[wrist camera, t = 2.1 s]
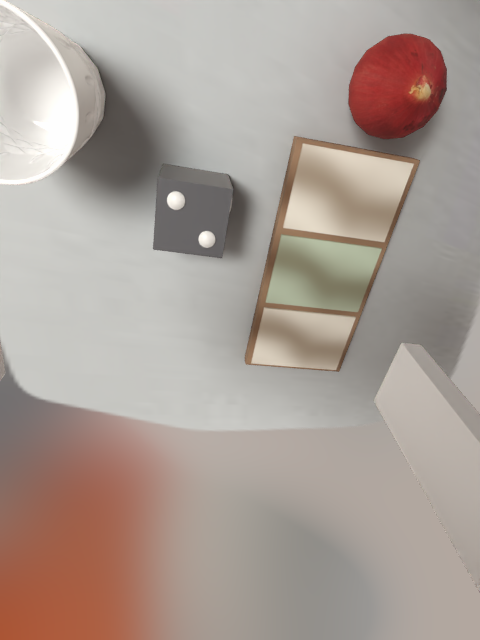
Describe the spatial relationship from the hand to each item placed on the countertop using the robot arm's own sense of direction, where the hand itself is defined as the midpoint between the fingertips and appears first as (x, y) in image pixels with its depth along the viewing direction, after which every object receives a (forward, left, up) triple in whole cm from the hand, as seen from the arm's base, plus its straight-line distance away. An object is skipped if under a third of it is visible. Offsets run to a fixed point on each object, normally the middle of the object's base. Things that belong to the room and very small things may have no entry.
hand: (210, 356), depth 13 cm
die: (+1, -1, -21) cm, 21 cm away
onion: (-9, +11, -22) cm, 26 cm away
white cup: (-5, -11, -22) cm, 25 cm away
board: (+5, +11, -21) cm, 25 cm away
